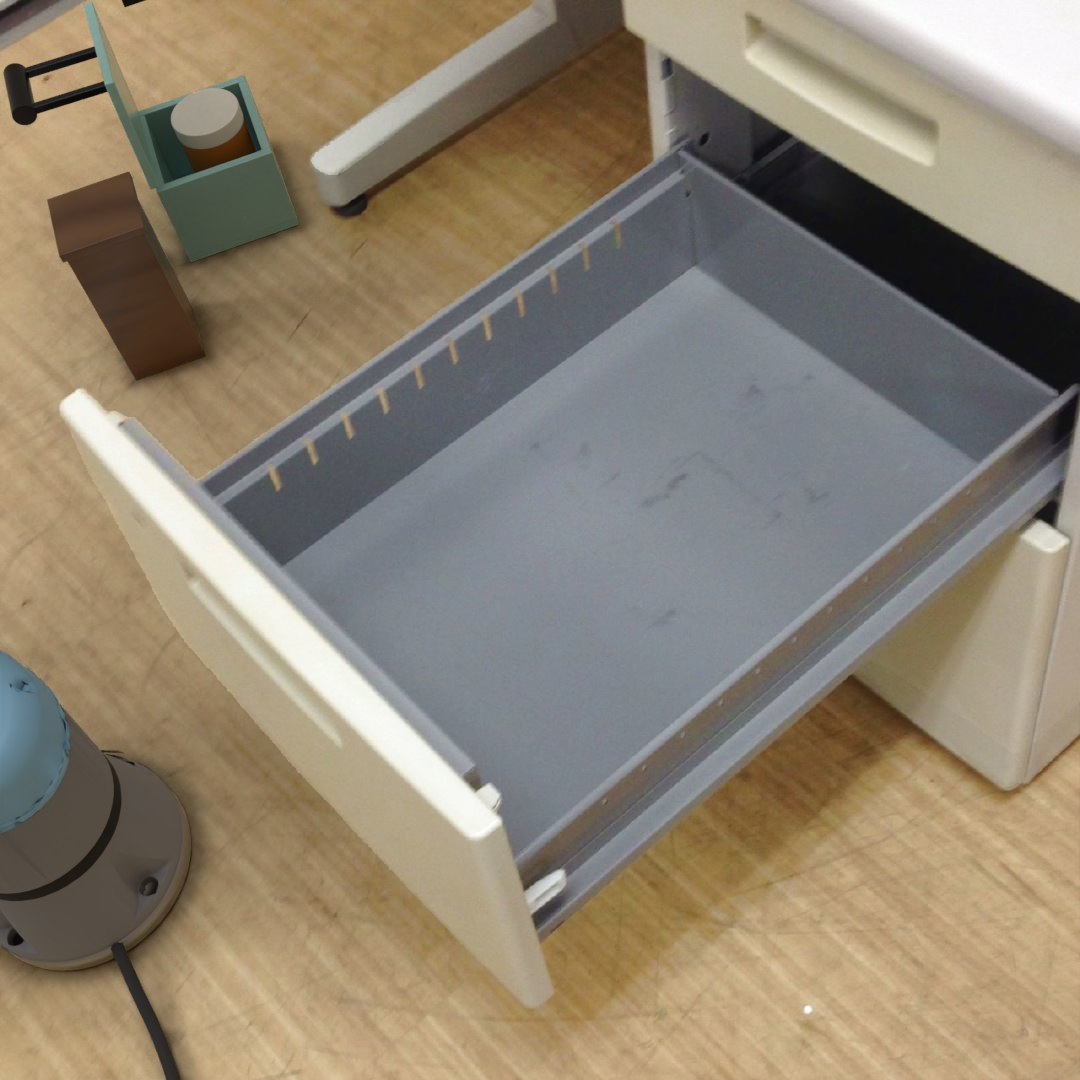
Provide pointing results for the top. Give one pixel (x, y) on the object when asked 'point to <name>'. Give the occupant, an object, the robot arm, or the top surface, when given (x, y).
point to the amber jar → (211, 128)
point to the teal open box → (218, 183)
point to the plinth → (126, 275)
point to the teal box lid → (83, 91)
